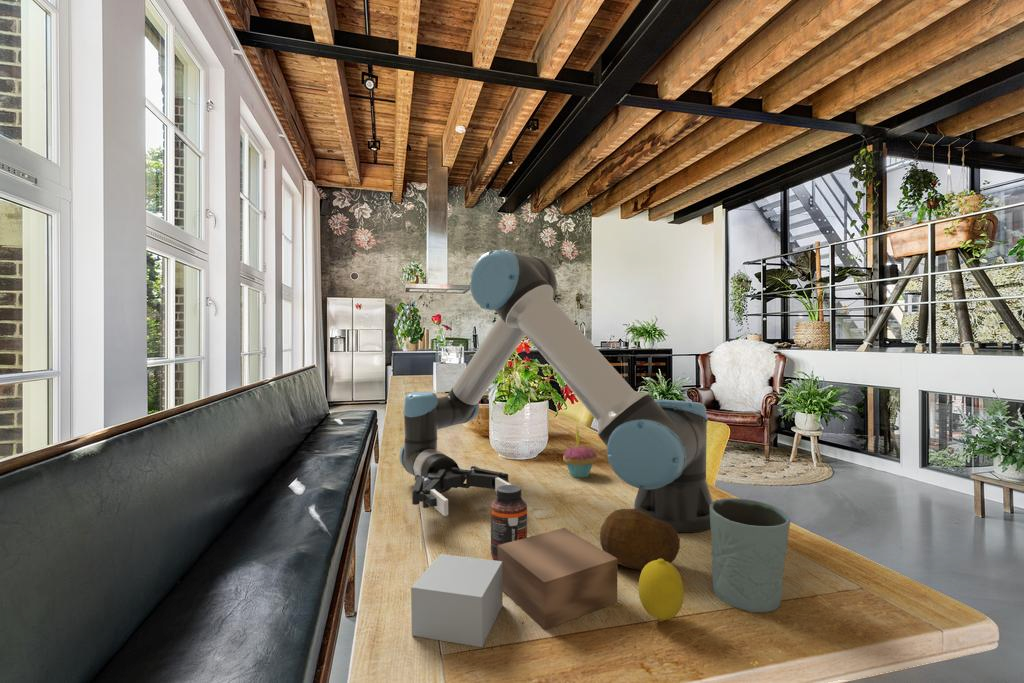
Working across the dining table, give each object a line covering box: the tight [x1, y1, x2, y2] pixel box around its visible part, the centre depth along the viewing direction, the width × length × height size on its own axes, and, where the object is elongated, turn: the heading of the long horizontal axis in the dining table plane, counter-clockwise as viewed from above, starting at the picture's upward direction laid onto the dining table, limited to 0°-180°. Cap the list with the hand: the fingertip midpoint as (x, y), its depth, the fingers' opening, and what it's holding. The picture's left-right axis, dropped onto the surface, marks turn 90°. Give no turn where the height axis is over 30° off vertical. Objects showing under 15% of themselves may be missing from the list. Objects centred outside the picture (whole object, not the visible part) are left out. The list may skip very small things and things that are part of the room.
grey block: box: [410, 553, 504, 648], centre depth 63 cm, size 9×9×6 cm
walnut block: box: [497, 527, 619, 631], centre depth 69 cm, size 12×12×6 cm
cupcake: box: [562, 425, 598, 479], centre depth 124 cm, size 9×8×12 cm
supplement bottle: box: [490, 484, 528, 561], centre depth 80 cm, size 6×6×11 cm
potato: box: [599, 508, 681, 571], centre depth 77 cm, size 8×12×9 cm
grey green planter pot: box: [710, 497, 791, 613], centre depth 69 cm, size 10×10×12 cm
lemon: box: [637, 558, 685, 623], centre depth 63 cm, size 6×6×8 cm
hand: (481, 500), depth 89 cm, fingers open, 13 cm apart
